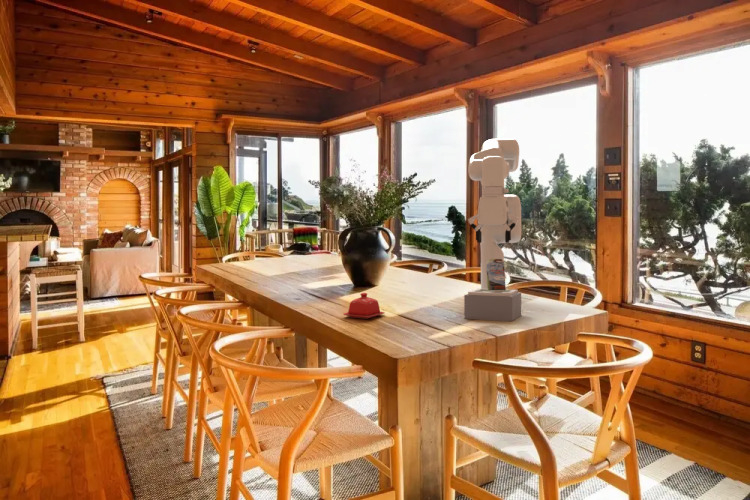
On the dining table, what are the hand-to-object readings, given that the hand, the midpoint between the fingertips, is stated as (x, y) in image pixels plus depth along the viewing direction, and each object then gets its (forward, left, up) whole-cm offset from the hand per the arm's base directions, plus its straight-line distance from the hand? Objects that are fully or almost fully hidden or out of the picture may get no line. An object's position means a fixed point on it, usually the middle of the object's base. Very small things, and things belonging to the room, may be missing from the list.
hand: (493, 242), depth 189 cm
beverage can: (0, +1, -18) cm, 18 cm away
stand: (0, 0, -26) cm, 26 cm away
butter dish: (+15, -42, -26) cm, 52 cm away
